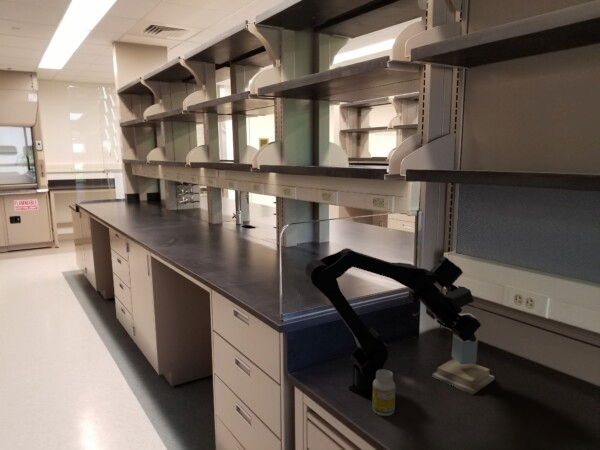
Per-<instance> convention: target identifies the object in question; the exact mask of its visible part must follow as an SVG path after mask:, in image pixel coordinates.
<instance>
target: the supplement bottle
mask: <svg viewBox="0 0 600 450" xmlns="http://www.w3.org/2000/svg"><path fill="white" fill-rule="evenodd" d="M393 379H394V373H393V372H392V371H391V370H388V369H380V370H377V371H376V379H375V380H374V381H373V395H372V399H371V400H372V401H371V402H372V403H371V404H372V406H371V407H372V411H373V412H374V413H375V414H376V413H377V415H378V416H383V417H388V416H391V415H393V414H394V412H395V407H396V405H395V404H396V383H395V381H394V380H393Z"/></svg>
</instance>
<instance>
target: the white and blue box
mask: <svg viewBox="0 0 600 450" xmlns="http://www.w3.org/2000/svg"><path fill="white" fill-rule="evenodd" d="M458 314H459V315H460V316H462V315H471V316H472V317H474V318H476V319H477V320H478V321H479V322H480V319H479V318H478V317H476V316H475V315H473V314H471V313H470V312H469V313H468V312H467V313H466V312H465V313H458ZM454 323H455V322H454ZM455 324H456V323H455ZM479 328H480V327H479ZM479 328H478V329H477V331H476V332H475V333H474V335H475V337H476V341H475V342H472V341H469V340H467V341H463V340H461V339H460V338H459V337H457V336H456V335H454V334H453V333H452V346H451V347H452V349H451V359H453V358H454V359H455V360H456V361H457V362H459V363H460V364H470V363H474V364H476V363H477V357H478V355H477V354H478V344H479V343H478V340H479Z"/></svg>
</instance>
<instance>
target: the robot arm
mask: <svg viewBox="0 0 600 450" xmlns="http://www.w3.org/2000/svg"><path fill="white" fill-rule="evenodd" d="M351 268H355V269H359V270H362V271H365V272H369V273H371V274H376V275H379V276H382V277H385V278H388V279H392V280H394V281H395V282H397V283H399V284H401V285H403V286H405V287H406V288H408V289H410V290H408V297H407V300H409V301H410V302H411V303H413V304H417V302H418V301H420V302H421V303H422V304H423V305H424V306H425V314H426V315H427V316H428V317H430V319H432V320H433V321H435V320H436V323H438V324H439V325H441V326H442V327H444V328H447V329H449V330H452V335H453V334H454V335H456V336H457V337H459V338H460V339H461V340H463V341H467V340H469V341H472V342H475V341H476V337H475V335H474V333H475V332H476V331H477V329H478V328H480V327H481V326H482V323H481V322H480V320H479V321H478V320H477V319H476V318H474V317H472V316H471V315H472V314H471V315H462V316H460V315H459V314H461V313H462V312H463V308H464V307H465V306H467V305H469V304H473V303H474V301H475V299H474V296H473V294H472V291H471V289H469V288H467V287H465V286H460V285H458V286H457V285H456V284H454V283H455V282H456V281H457V280H458V279H459V278H460V276H462V275H463V274H464V272H463V270H462V268H460V267H459V266H458V265H456V264H455V263H454V262H453V261H452V260H450V259H449V258H448V257H446V256H441V257H440V258H439V260H438V262H437V263H435V265H434V266H433V267H432V268H431V269H430V270H429V269H426V268H420V267H418V266H416V265H414V264H411V263H405V262H390V261H388V260H384V259H380V258H378V257H375V256H371V255H368V254H365V253H360V252H357V251H354V250H353V249H351V248H349V247H347V248H343V249H341V250H339V251H337V252H336V253H332V254H329V255H326V256H324V257H321V258H320V259H313V260H311V261H309V263H307V265H306V266H305V271H304V273H305V277H306V278H307V279H308V281H310V282H311V284H312V285H313V286H314V287H315V288H316V289H317V290H318V291H319V292H320V293H321V294H323V295H324V296H325V297H326V298H327V300H328V301H329V302H330V304H331V306H333V308H334V309H335V311H336V312H337V314H338V315H339V317H340V319H342V321H343V322H344V324H345V325H346V327H347V328H348V329H349V331H350V333H352V335H353V337H354V341H355V344H356V345H357V347H356V348H355V349H354V350H353V352H351V353H350V357H351V358H350V359H351V361H352V362H353V363H354V364H353V367H352V384H351V385H349V386H348V389H349V391H352V392H354V393H356V394H358V395H360V396H362V397H364V398H365V399H369V398H371V397H373V381H374V380H375V379H376V371H377V370H380V369H383V368H384V366H385V363H386V362H387V361H388V359H389V356H390V354H389V351H388V349H389V347H390V346H388V344H386V343H385V342H384V341H383V338H382V337H381V336H382V335H380V334H379V333H378V332H377V331H376V330H375V329H374V328H373V327H372V326H371V327H370V328H369V330H368V328H367V327H366V326H365V324H364V323H363V321H362V319H360V317H359V315H358V314H357V313H356V311H355V310H354V308H353V307H352V305H351V304H350V302H349V301H348V300H347V298H346V296H344V294H343V292H342V291H341V288H340V286H339V281H338V280H337V279H339V278H340V277H342V276H343V275H344V274H345V273H346V272H348V271H349V270H350V269H351ZM439 288H440V289H439ZM444 288H445V289H446V294H444V293H443V292H442V291H441V289H444ZM454 322H455V323H456V324H455V323H454ZM478 330H479V329H478Z"/></svg>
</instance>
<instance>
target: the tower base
mask: <svg viewBox="0 0 600 450" xmlns="http://www.w3.org/2000/svg"><path fill="white" fill-rule="evenodd" d="M432 377H434V378H436V379H435V380H437V379H439V380H440V381H439V380H438V381H439V382H441V381H443V382H442V383H444V382H445V383H444V384H446V383H447V384H446V385H448V384H449V386H451V385H452V386H451V387H453V386H454V387H453V388H455V387H456V389H458V388H459V389H458V390H460V389H461V390H460V391H463V392H465V391H466V392H465V393H467V392H468V393H467V394H470V395H472V396H473V394H474V395H475V394H476V393H478V392H479V391H480V390H481V389H482V390H483V388H484V387H486V386H487V385H489V384H491V383H492V382H493V381H494V380H495V376H494V375H492V374H490V368H487V367H485V366H481V365H479V364H476V363H470V364H460V363H459V362H457V361H456V360H455V359H454V358H451V359H449V360H448V361H447V362H444V363H443V364H441V365H440V366H438V367H437V369H436V371H435V372H433V373H432V374H431V378H432ZM434 378H433V379H434Z"/></svg>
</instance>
